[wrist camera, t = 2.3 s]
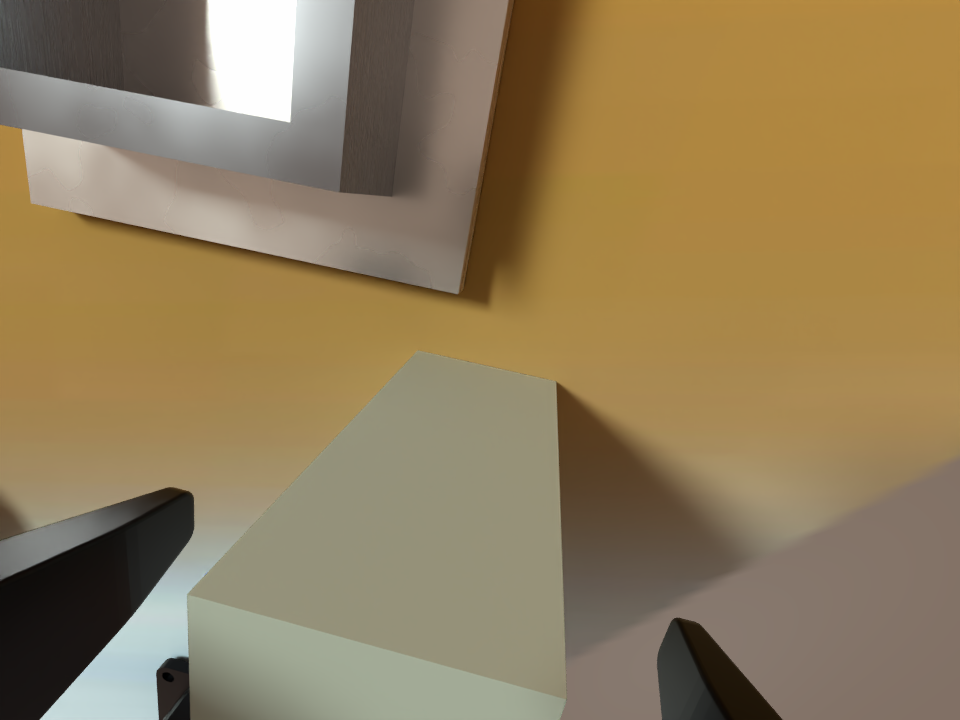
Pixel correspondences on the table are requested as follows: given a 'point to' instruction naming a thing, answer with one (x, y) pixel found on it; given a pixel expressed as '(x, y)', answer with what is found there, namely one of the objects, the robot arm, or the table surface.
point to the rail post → (400, 566)
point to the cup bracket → (265, 122)
